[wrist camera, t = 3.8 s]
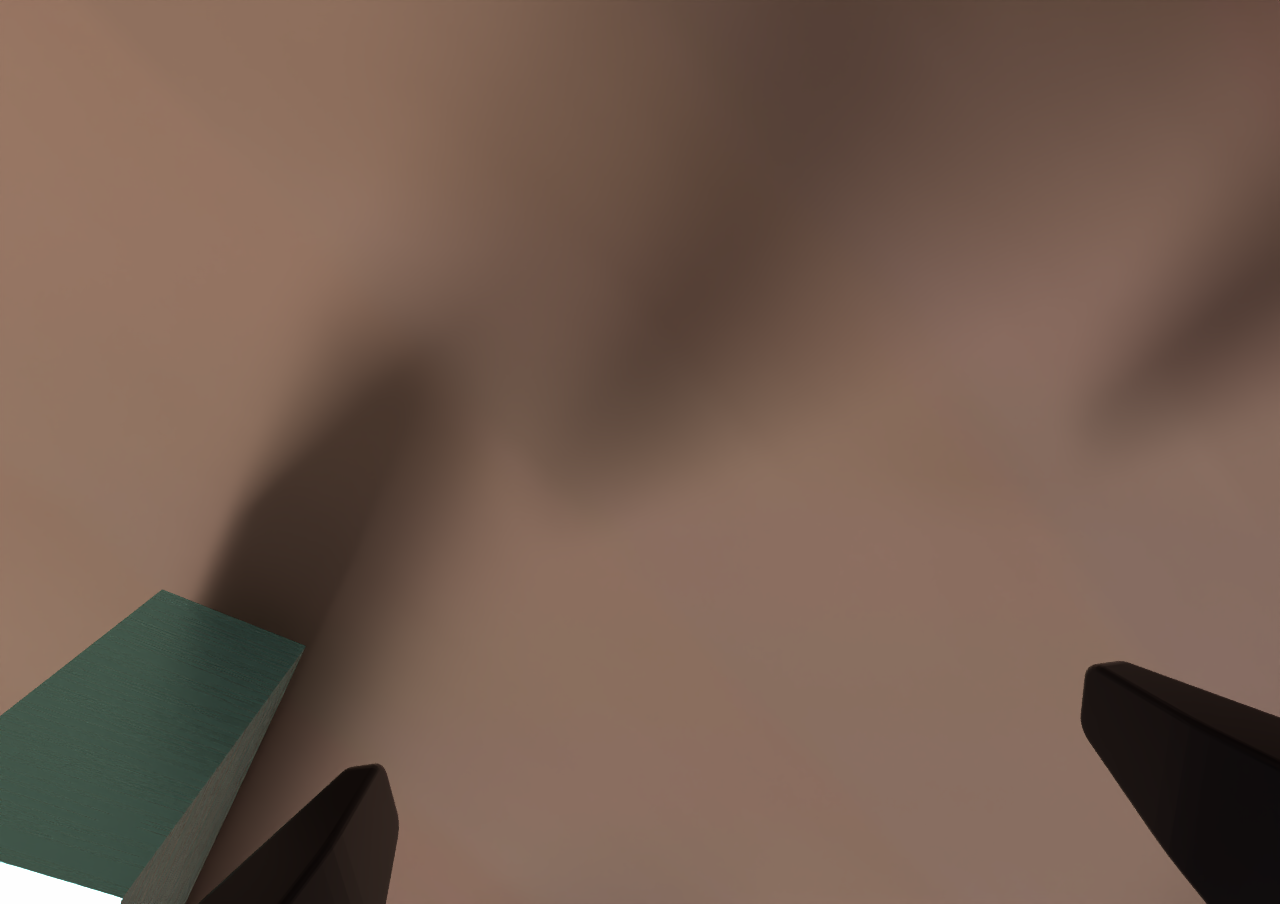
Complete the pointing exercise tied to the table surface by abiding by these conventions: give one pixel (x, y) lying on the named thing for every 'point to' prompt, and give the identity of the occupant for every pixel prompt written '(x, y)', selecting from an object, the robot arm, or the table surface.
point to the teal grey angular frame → (135, 756)
